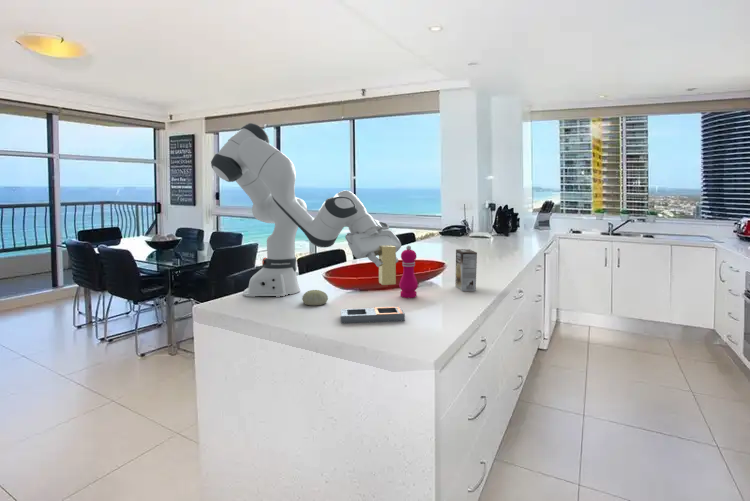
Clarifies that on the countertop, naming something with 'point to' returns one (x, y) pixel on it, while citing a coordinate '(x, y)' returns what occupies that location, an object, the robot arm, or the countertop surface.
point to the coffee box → (466, 269)
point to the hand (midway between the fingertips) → (388, 263)
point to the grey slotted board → (372, 315)
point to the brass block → (387, 265)
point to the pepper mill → (408, 274)
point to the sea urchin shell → (315, 297)
